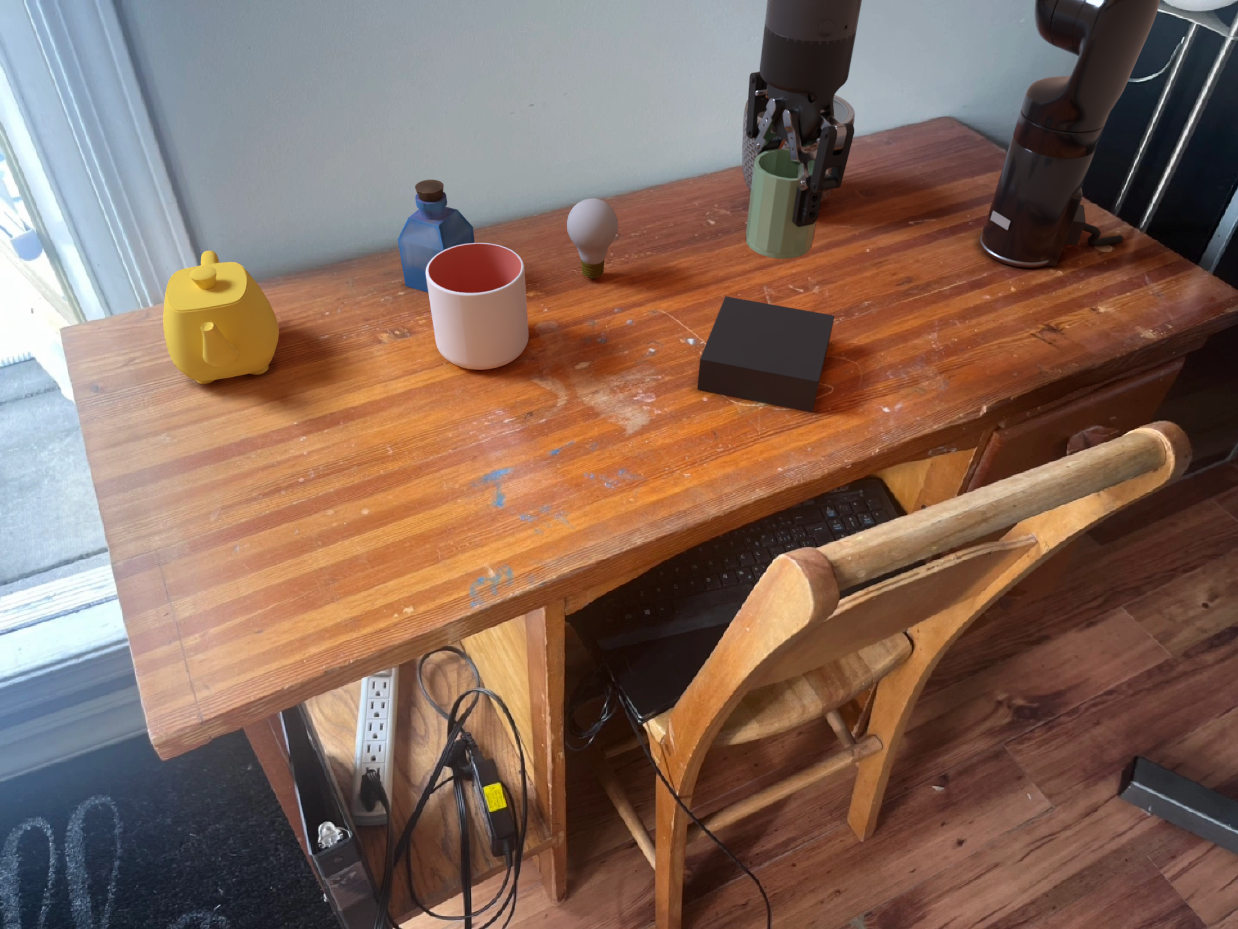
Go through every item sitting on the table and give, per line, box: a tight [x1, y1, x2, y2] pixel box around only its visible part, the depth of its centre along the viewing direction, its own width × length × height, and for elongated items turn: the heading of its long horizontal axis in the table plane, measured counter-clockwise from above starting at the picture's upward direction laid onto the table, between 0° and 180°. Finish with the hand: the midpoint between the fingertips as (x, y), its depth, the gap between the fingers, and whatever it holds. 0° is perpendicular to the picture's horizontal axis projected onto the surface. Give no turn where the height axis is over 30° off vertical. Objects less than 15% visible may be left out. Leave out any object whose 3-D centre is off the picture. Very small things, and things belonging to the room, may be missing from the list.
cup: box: [426, 242, 530, 371], centre depth 99 cm, size 10×10×10 cm
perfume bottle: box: [397, 179, 476, 293], centre depth 108 cm, size 6×6×12 cm
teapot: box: [162, 250, 280, 385], centre depth 97 cm, size 18×11×11 cm, turn 18°
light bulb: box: [566, 198, 619, 280], centre depth 110 cm, size 6×6×10 cm
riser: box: [697, 296, 835, 413], centre depth 100 cm, size 12×12×4 cm
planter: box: [741, 94, 856, 202], centre depth 123 cm, size 14×14×13 cm
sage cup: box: [745, 148, 818, 260], centre depth 89 cm, size 6×6×8 cm
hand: (784, 205), depth 89 cm, fingers closed on sage cup, 6 cm apart
